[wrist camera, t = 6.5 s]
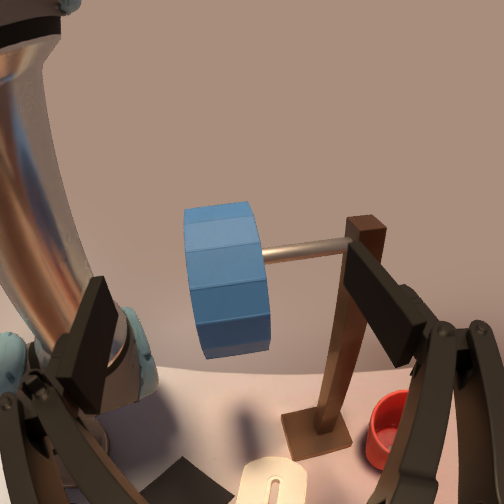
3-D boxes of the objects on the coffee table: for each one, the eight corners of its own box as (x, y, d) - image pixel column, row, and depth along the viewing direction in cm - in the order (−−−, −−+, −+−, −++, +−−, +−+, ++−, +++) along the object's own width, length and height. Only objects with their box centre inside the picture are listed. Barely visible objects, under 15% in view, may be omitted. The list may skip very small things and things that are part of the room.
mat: (137, 496, 31) (136, 495, 31) (183, 457, 37) (182, 455, 37) (186, 540, 25) (185, 540, 25) (234, 496, 32) (234, 495, 32)
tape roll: (212, 387, 21) (181, 261, 15) (203, 295, 30) (186, 188, 24) (271, 378, 21) (268, 249, 16) (247, 289, 31) (239, 181, 25)
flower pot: (375, 493, 30) (398, 473, 25) (343, 438, 39) (357, 408, 34) (431, 458, 32) (460, 431, 27) (398, 411, 41) (418, 377, 36)
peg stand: (236, 471, 35) (181, 278, 17) (229, 427, 42) (184, 220, 24) (350, 446, 37) (431, 241, 19) (334, 406, 44) (378, 199, 26)
